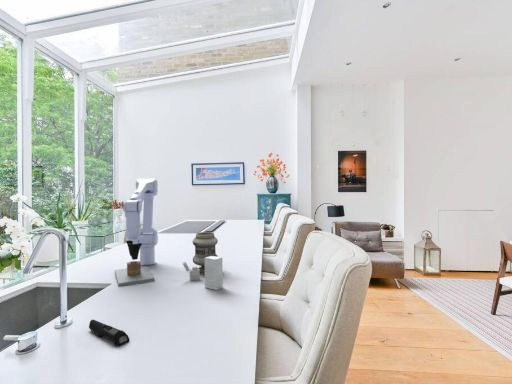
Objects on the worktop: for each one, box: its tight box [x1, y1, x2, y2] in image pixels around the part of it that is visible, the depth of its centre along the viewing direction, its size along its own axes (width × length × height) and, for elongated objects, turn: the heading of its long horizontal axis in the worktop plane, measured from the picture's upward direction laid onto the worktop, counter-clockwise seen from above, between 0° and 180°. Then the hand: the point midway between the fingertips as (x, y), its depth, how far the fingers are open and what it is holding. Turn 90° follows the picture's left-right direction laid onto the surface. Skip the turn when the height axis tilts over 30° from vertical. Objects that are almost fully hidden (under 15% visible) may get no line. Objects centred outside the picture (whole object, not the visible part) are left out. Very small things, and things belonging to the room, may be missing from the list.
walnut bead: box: [126, 260, 142, 276], centre depth 133 cm, size 5×5×5 cm
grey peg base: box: [114, 263, 156, 287], centre depth 133 cm, size 22×14×6 cm, turn 29°
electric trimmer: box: [88, 319, 130, 347], centre depth 80 cm, size 4×16×3 cm, turn 56°
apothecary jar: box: [192, 231, 219, 275], centre depth 141 cm, size 12×12×18 cm
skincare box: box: [204, 256, 224, 291], centre depth 118 cm, size 6×4×12 cm
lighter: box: [182, 261, 201, 281], centre depth 128 cm, size 7×2×8 cm, turn 107°
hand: (133, 257), depth 133 cm, fingers open, 7 cm apart
